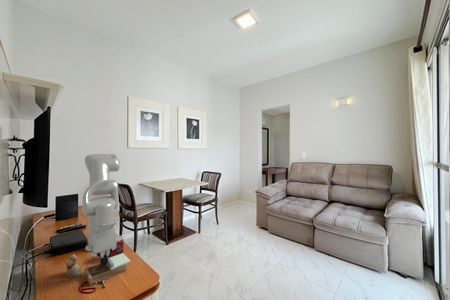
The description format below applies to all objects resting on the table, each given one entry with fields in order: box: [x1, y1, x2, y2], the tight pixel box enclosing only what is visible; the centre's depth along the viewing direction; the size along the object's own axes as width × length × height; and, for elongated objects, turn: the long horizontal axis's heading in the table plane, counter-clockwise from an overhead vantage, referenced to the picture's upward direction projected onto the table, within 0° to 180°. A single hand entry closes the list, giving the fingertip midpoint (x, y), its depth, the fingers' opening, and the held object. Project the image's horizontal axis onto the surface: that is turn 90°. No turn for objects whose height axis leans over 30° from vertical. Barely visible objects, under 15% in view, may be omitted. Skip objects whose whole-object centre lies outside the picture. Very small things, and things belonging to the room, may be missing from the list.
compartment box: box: [84, 262, 127, 287], centre depth 93 cm, size 12×15×3 cm
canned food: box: [108, 235, 124, 258], centre depth 108 cm, size 8×8×11 cm
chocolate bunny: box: [65, 253, 83, 278], centre depth 93 cm, size 6×8×10 cm
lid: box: [107, 252, 131, 270], centre depth 97 cm, size 11×9×2 cm
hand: (104, 264), depth 93 cm, fingers closed
